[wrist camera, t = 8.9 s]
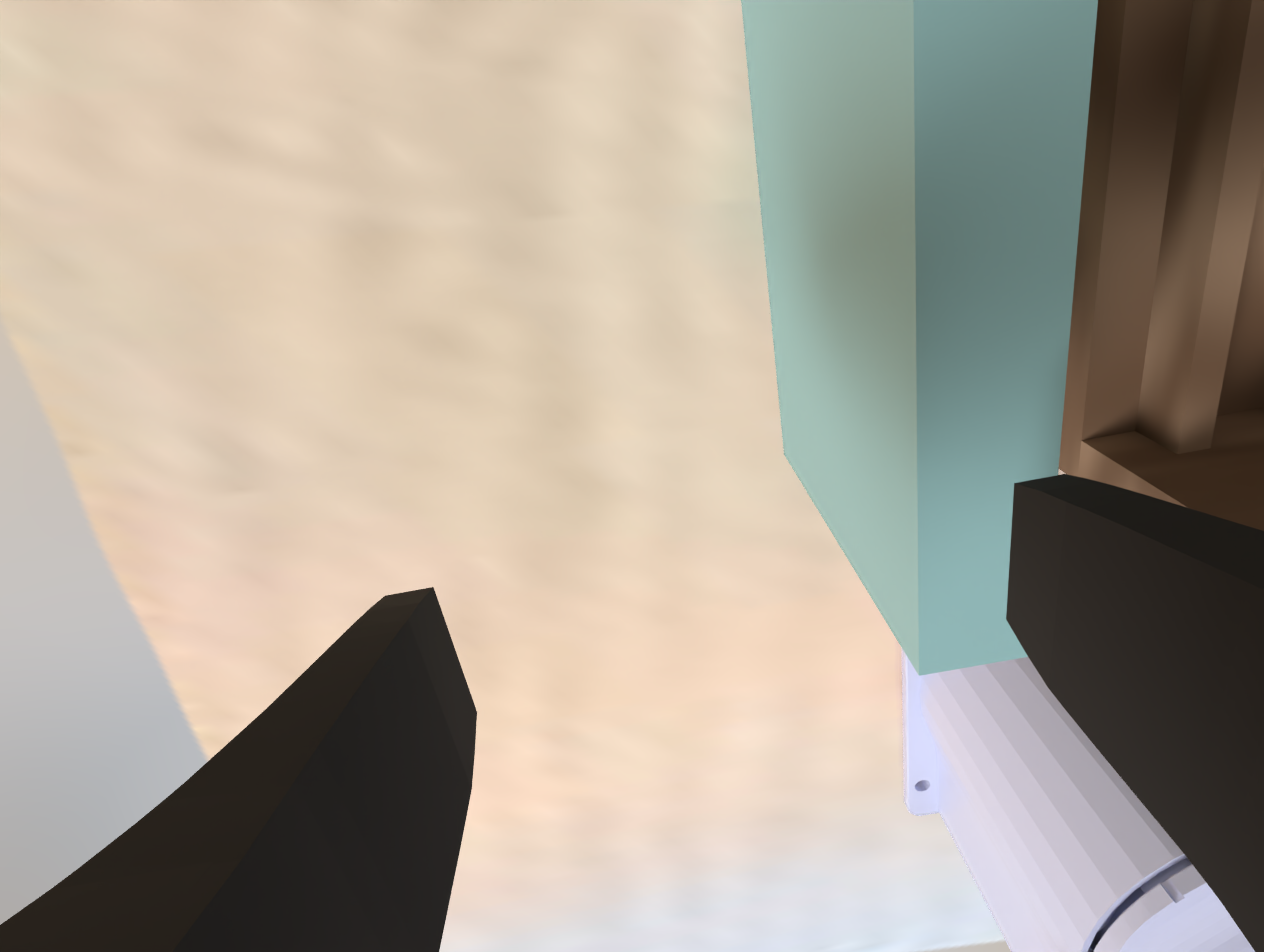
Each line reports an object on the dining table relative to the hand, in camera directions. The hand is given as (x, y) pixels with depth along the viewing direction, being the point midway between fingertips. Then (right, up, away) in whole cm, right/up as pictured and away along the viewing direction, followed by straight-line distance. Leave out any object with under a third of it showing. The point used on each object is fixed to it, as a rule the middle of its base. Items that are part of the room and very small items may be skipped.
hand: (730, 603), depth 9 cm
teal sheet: (+3, +8, +8) cm, 12 cm away
